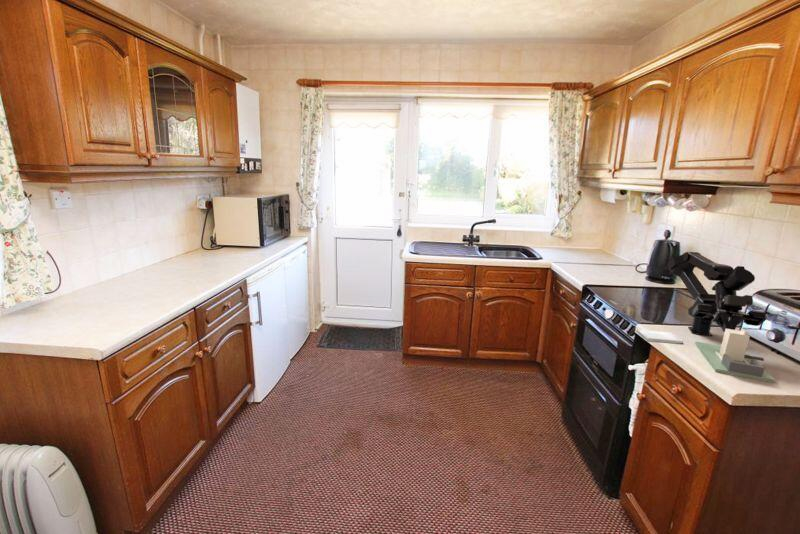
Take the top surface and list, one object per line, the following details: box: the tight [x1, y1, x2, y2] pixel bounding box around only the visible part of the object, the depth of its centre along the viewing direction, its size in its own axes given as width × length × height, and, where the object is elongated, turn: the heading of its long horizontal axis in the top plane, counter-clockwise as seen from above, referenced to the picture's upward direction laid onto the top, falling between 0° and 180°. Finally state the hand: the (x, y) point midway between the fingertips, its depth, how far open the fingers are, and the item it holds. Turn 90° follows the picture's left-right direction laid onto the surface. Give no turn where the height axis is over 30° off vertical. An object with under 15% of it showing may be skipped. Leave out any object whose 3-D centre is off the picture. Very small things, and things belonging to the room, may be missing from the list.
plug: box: [719, 327, 765, 362], centre depth 122 cm, size 4×10×10 cm, turn 66°
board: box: [694, 341, 776, 383], centre depth 124 cm, size 22×14×2 cm, turn 156°
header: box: [721, 354, 765, 377], centre depth 116 cm, size 6×8×3 cm
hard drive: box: [635, 329, 684, 344], centre depth 141 cm, size 2×8×12 cm
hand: (730, 337), depth 127 cm, fingers closed
